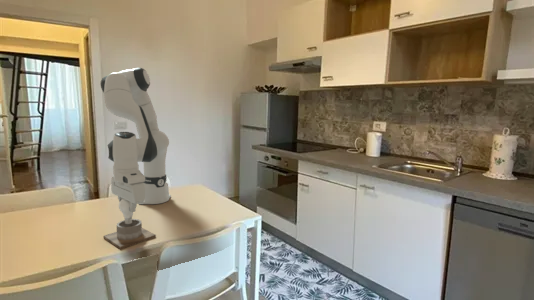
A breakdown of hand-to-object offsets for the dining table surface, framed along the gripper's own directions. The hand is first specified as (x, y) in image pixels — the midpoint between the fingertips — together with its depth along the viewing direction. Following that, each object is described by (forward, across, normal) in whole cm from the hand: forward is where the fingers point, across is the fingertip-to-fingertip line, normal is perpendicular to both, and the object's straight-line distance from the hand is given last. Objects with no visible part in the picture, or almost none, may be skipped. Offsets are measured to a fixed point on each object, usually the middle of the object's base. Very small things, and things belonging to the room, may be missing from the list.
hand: (127, 209), depth 117 cm
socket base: (+12, 0, 0) cm, 12 cm away
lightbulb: (+6, 0, 0) cm, 6 cm away
